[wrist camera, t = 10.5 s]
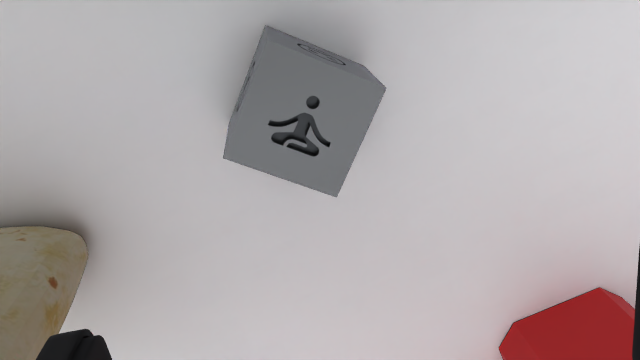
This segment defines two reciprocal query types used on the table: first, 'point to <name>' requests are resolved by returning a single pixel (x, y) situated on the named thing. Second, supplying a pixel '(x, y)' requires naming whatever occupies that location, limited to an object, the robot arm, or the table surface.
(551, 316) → the book
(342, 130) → the dice cube
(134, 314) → the table surface
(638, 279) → the robot arm
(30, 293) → the food model
